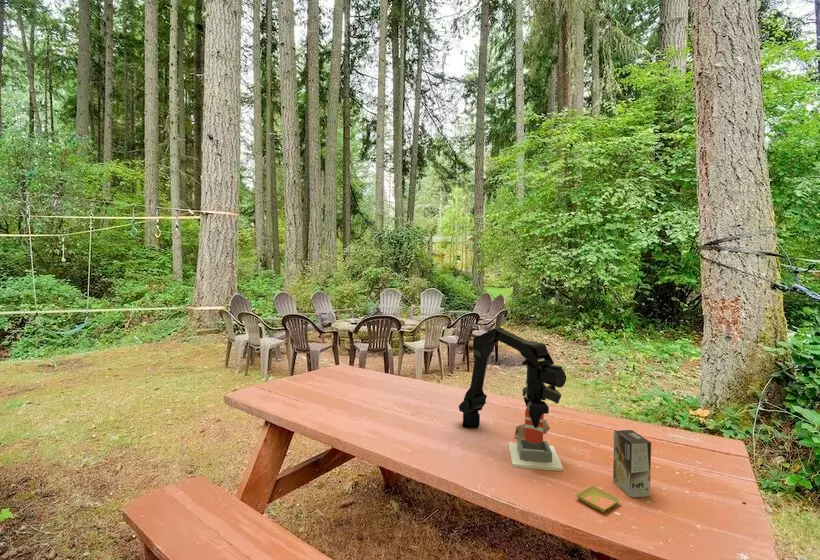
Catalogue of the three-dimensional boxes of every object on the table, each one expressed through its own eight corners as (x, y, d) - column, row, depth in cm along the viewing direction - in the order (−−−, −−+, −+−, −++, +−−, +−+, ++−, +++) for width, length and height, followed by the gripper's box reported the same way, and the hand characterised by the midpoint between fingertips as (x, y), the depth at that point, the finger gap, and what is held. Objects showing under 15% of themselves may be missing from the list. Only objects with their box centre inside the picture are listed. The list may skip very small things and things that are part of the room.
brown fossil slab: (527, 444, 148) (527, 441, 148) (502, 435, 156) (502, 432, 156) (559, 425, 165) (559, 423, 165) (535, 418, 173) (535, 415, 173)
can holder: (512, 466, 131) (512, 455, 131) (508, 445, 147) (508, 434, 146) (562, 471, 128) (563, 459, 128) (553, 448, 144) (553, 437, 144)
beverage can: (542, 437, 140) (543, 405, 139) (542, 446, 134) (543, 412, 133) (525, 435, 142) (526, 402, 141) (524, 443, 136) (525, 409, 135)
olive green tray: (592, 491, 118) (592, 484, 118) (621, 506, 110) (621, 499, 110) (574, 501, 113) (575, 494, 113) (604, 517, 106) (604, 509, 106)
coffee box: (651, 496, 114) (652, 442, 114) (630, 498, 114) (632, 443, 113) (631, 479, 123) (632, 429, 123) (611, 480, 123) (612, 430, 122)
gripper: (565, 389, 126) (564, 437, 127) (553, 373, 144) (552, 415, 145) (529, 387, 128) (528, 434, 128) (522, 371, 146) (521, 413, 147)
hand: (534, 423), depth 137 cm, fingers closed on beverage can, 6 cm apart
